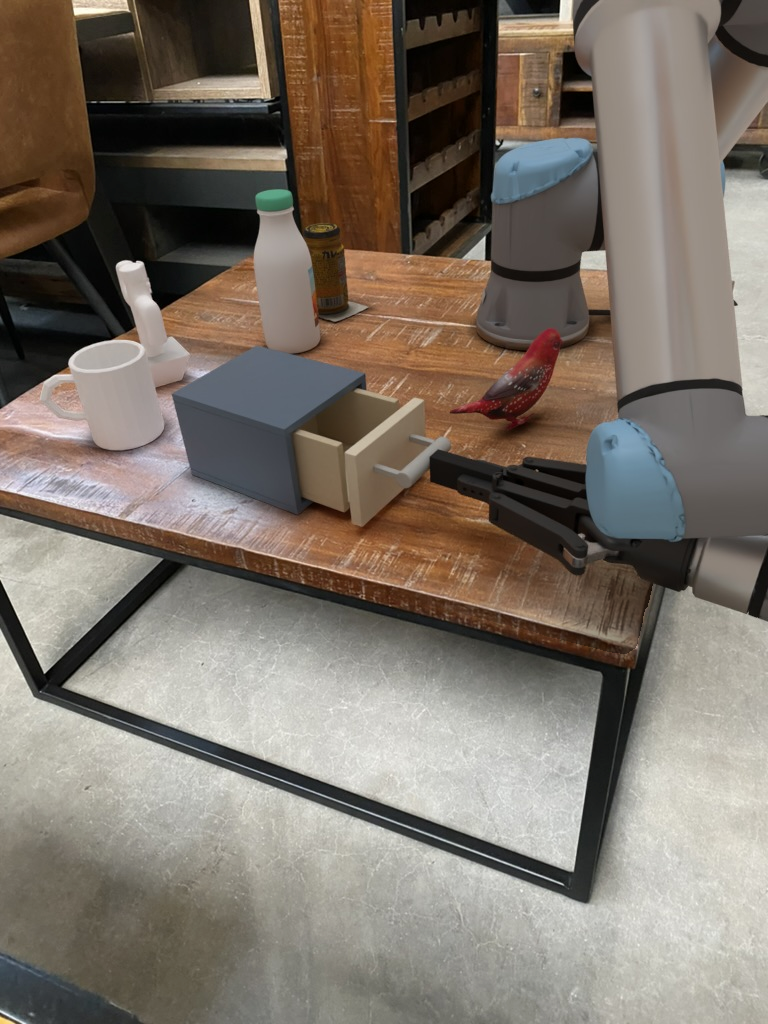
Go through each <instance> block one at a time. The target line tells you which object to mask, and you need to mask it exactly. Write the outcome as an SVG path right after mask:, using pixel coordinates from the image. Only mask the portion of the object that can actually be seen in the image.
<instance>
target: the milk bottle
mask: <svg viewBox="0 0 768 1024" xmlns="http://www.w3.org/2000/svg"><path fill="white" fill-rule="evenodd" d="M254 197H255V199H254V200H255V206H256V209H257V210H256V213H257V214H258V215H259V229H258V234H257V238H256V242H255V245H254V250H253V269H254V271H253V272H254V279H255V286H256V292H257V300H258V306H259V312H260V318H261V324H262V331H263V338H264V343H265V345H266V348H268V349H272V350H276V351H280V352H284V353H288V354H292V355H293V354H299V353H304V352H306V351H310V350H312V349H314V348H315V347H317V346H318V345H319V343H320V341H321V327H320V317H318V308H317V299H316V291H315V283H314V275H313V268H312V261H311V257H310V253H309V250H308V247H307V245H306V243H305V241H304V236H302V234H301V232H300V230H299V228H298V226H297V224H296V222H295V219H294V215H293V211H295V208H294V206H293V205H294V198H293V194H292V192H291V191H290V190H288V189H281V188H280V189H279V188H278V189H267V190H264V191H260V192H257V194H256V195H255V196H254Z"/></svg>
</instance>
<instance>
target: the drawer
mask: <svg viewBox="0 0 768 1024" xmlns="http://www.w3.org/2000/svg"><path fill="white" fill-rule="evenodd" d="M425 410H426V405H425V399H423V398H418V397H412V398H411V399H410V400H409V401H408V402H407V403H405V404H404V405H402V406H401V407H400V400H399V398H397V397H396V398H395V397H392V396H389V395H384V394H381V393H378V392H373V391H369V390H367V391H366V390H362V389H358V388H354V389H353V390H351V391H350V392H348V393H347V394H345V395H344V396H343V397H341V398H340V399H338V400H337V401H336V402H334V403H333V404H331V405H330V406H328V407H327V408H326V409H324V410H323V411H321V412H320V413H319V414H317V415H316V416H314V417H313V418H311V419H310V420H309V421H307V422H306V423H304V424H303V425H302V426H300V427H299V428H297V429H296V430H294V431H293V432H292V433H291V437H292V443H293V450H294V457H295V463H296V470H297V476H298V483H299V490H300V496H301V497H303V498H306V499H309V500H311V501H314V502H313V503H317V504H320V505H322V506H325V507H328V508H330V509H333V510H336V511H339V512H342V513H346V512H348V510H350V516H351V517H350V519H351V520H350V521H351V524H352V525H355V526H357V527H360V528H363V527H364V526H365V525H367V523H368V522H370V521H371V520H372V519H373V518H374V517H375V516H376V515H377V514H378V513H379V512H380V511H381V510H383V508H385V507H386V506H387V505H388V504H389V503H390V502H391V501H392V500H393V499H394V498H395V497H397V496H398V495H399V494H400V493H401V492H402V491H403V490H404V489H410V488H411V487H412V486H413V485H414V484H415V483H416V482H418V480H419V479H421V477H423V476H424V475H425V474H426V473H427V472H428V471H430V460H429V457H430V456H431V455H432V454H433V453H434V452H435V451H436V450H437V449H439V450H443V451H446V452H450V451H451V450H452V443H451V440H449V439H448V438H447V437H445V436H439V437H437V438H436V439H432V438H429V437H427V436H426V411H425Z"/></svg>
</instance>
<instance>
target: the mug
mask: <svg viewBox="0 0 768 1024" xmlns="http://www.w3.org/2000/svg"><path fill="white" fill-rule="evenodd" d="M67 363H68V364H67V365H68V368H69V371H70V373H69V374H65V373H63V374H53V375H52V376H51V377H50V378H48V379H46V380H45V381H43V383H42V388H41V391H40V395H39V401H40V402H41V403H42V404H43V405H44V406H45V407H46V408H47V409H48V410H49V411H50V412H51V413H52V414H54V415H55V416H56V417H57V418H58V419H63V420H68V421H73V422H74V421H75V422H82V421H86V423H87V425H88V428H89V431H90V434H91V437H92V440H93V442H94V444H95V446H97V447H99V448H101V449H104V450H109V451H126V450H132V449H136V448H139V447H143V446H145V445H147V444H149V443H151V442H154V441H156V439H157V438H159V437H160V436H161V435H162V433H163V432H164V430H165V420H164V416H163V413H162V408H161V405H160V400H159V398H158V393H157V390H156V388H155V385H154V382H153V378H152V374H151V370H150V366H149V363H148V359H147V355H146V351H145V348H144V347H143V346H142V345H141V343H139V342H136V341H135V340H128V339H111V340H104V341H100V342H96V343H92V344H90V345H86V346H84V347H82V348H80V349H79V350H77V351H76V352H74V354H72V355H71V356H70V358H69V359H68V362H67ZM62 384H74V385H75V390H76V391H77V392H76V393H77V395H78V398H79V401H80V405H81V407H82V410H83V411H72V410H68V409H63V408H62V407H61V406H60V405H59V404H58V403H56V402H55V400H53V399H52V396H53V391H54V389H55V388H57V387H59V386H61V385H62Z"/></svg>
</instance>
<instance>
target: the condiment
mask: <svg viewBox="0 0 768 1024" xmlns="http://www.w3.org/2000/svg"><path fill="white" fill-rule="evenodd" d="M302 234H303V239H304V241H305V243H306V245H307V247H308V250H309V253H310V257H311V261H312V268H313V275H314V283H315V291H316V299H317V308H318V317H319V318H320V319H323V320H327V321H332V322H338V321H341V320H345V319H346V318H349V317H351V316H353V315H357V314H358V313H360V312H362V311H363V312H364V311H365V310H366V309H368V308H369V306H367V305H364V304H362V303H357V302H355V301H350V300H349V290H348V289H349V288H348V278H347V277H348V276H347V267H346V255H345V246H344V245H343V244H342V237H341V228H340V226H338V225H337V224H335V223H329V222H322V223H313V224H310V225H308V226H306V227H304V229H303V232H302Z"/></svg>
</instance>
